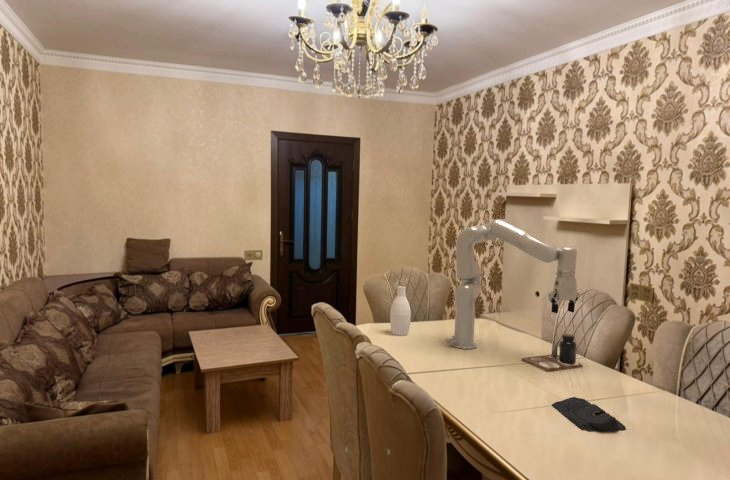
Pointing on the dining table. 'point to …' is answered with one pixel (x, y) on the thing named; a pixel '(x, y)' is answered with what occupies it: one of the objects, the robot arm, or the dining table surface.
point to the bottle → (400, 313)
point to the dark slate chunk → (587, 415)
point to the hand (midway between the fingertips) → (562, 312)
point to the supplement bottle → (567, 349)
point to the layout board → (550, 361)
